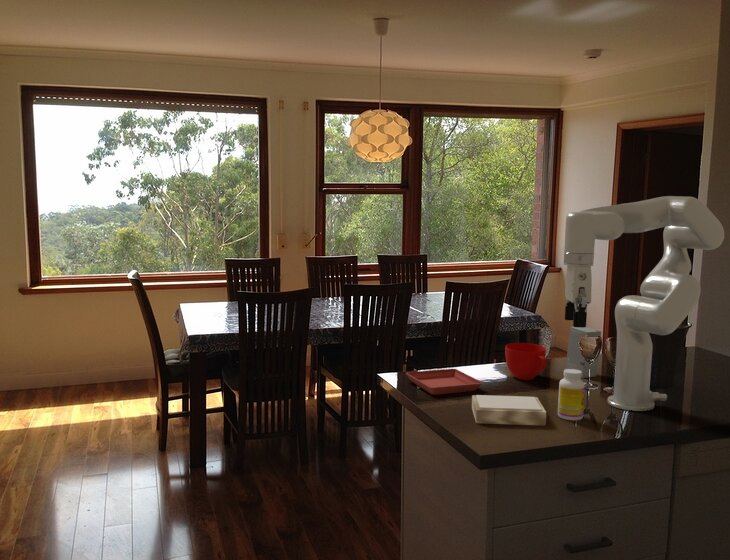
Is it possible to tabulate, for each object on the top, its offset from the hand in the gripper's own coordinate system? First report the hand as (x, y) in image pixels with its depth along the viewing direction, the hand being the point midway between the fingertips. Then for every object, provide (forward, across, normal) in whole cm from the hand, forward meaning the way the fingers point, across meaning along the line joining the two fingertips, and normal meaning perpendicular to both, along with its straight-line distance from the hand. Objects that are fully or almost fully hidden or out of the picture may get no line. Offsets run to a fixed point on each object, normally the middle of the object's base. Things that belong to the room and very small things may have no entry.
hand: (574, 323), depth 182 cm
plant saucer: (+26, +26, +33) cm, 50 cm away
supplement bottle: (+26, 0, 0) cm, 26 cm away
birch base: (+26, -1, +17) cm, 31 cm away
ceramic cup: (+26, +38, +5) cm, 46 cm away
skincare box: (+26, +45, -14) cm, 54 cm away
